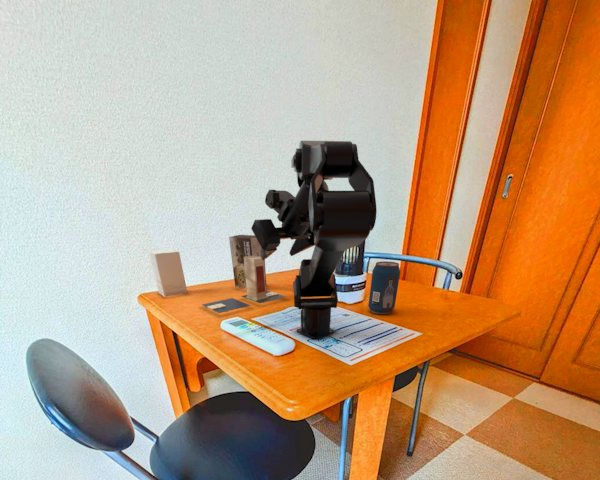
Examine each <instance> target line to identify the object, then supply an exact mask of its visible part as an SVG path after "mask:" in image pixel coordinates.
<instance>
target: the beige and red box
mask: <svg viewBox="0 0 600 480" xmlns="http://www.w3.org/2000/svg"><path fill="white" fill-rule="evenodd" d="M244 266H245V277H246V287H247V289H246V295H247V297H250V298H253V299H255V300H259V299H264V298H267V297H266V291H267V280H266V281H265V271H266V265H265V266H264V260H262V259H261V257H259V256H246V257H244Z"/></svg>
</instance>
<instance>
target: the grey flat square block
mask: <svg viewBox="0 0 600 480" xmlns="http://www.w3.org/2000/svg"><path fill="white" fill-rule="evenodd" d="M241 297H242V298H245V299H247V300H250V301H252V302H255V303H258V304H263V303H268V302H272V301H276V300H281V299H284V298H287V296H286V295H283V294H280V293H277V292H273V291H270V290H266V297H267V298H264V299H259V300H255V299H253V298H250V297H247V294H245V295H241Z"/></svg>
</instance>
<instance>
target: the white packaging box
mask: <svg viewBox="0 0 600 480" xmlns="http://www.w3.org/2000/svg"><path fill="white" fill-rule="evenodd" d="M148 253H149V258H150V262H151V266H152V270H153V274H154V275H153V276H154V278H155V282H156V286H157V290H158V294H159V295H161V296H162V297H163V298H166V297H172V296H177V295H178V296H179V295H182V294H187V293H188V289H187V284H186V278H185V273H184V269H183V264H182V260H181V255H180V251H178V250H175V249H172V248H171V249H159V250H151V251H148Z"/></svg>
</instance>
